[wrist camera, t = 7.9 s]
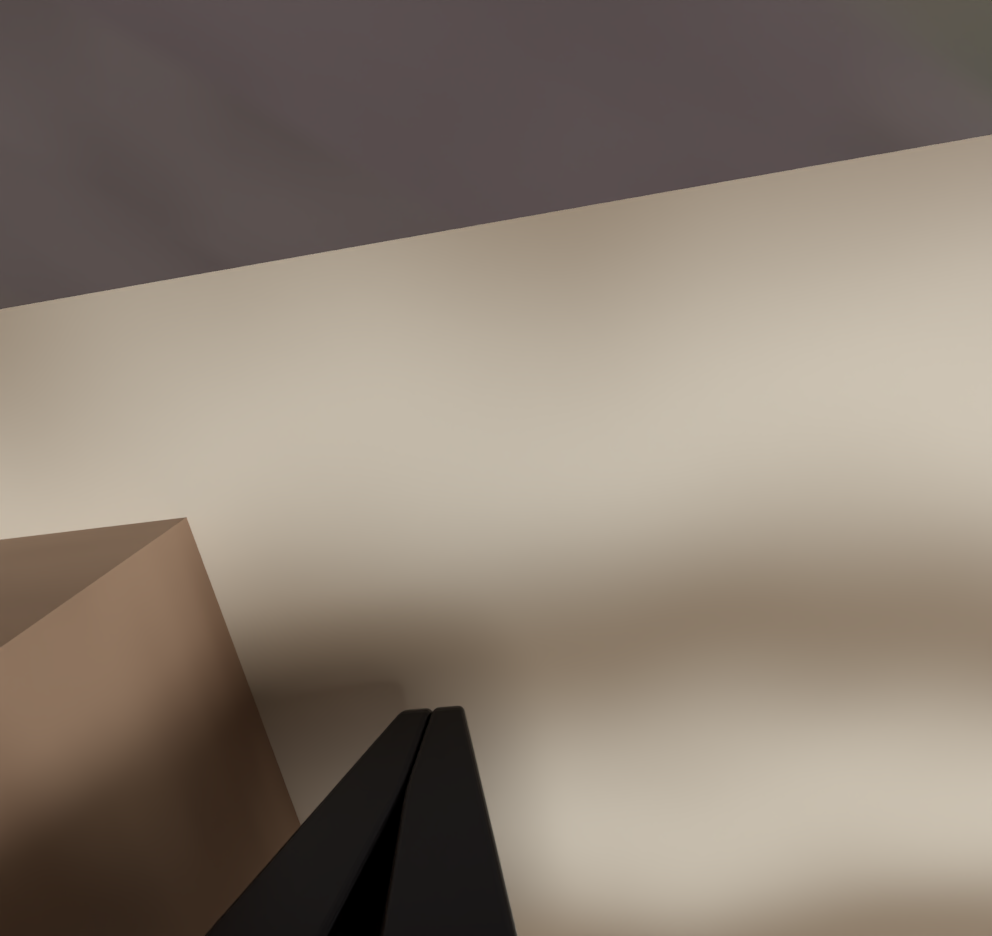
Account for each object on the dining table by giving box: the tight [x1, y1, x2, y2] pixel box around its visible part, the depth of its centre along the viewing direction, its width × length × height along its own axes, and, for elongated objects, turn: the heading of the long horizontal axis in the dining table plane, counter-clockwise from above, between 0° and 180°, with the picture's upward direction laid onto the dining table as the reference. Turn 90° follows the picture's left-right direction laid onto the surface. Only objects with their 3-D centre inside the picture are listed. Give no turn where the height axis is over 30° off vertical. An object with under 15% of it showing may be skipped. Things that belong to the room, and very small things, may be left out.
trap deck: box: [0, 135, 992, 936], centre depth 10 cm, size 22×28×4 cm
